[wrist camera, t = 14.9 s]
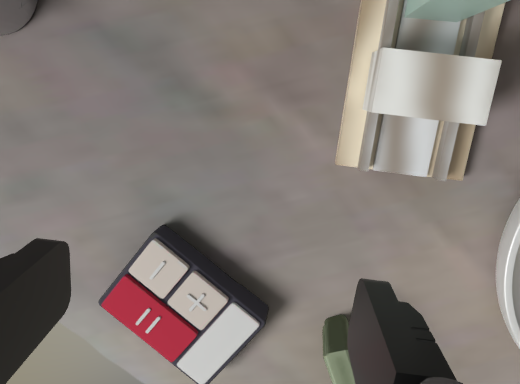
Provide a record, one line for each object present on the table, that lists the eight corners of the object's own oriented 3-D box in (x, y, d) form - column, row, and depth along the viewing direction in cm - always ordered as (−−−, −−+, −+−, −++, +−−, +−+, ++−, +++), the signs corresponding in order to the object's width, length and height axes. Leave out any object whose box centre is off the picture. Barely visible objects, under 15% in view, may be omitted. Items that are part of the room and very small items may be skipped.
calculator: (151, 232, 41) (266, 327, 42) (166, 220, 46) (270, 306, 46) (92, 306, 44) (201, 394, 45) (111, 289, 48) (211, 369, 49)
